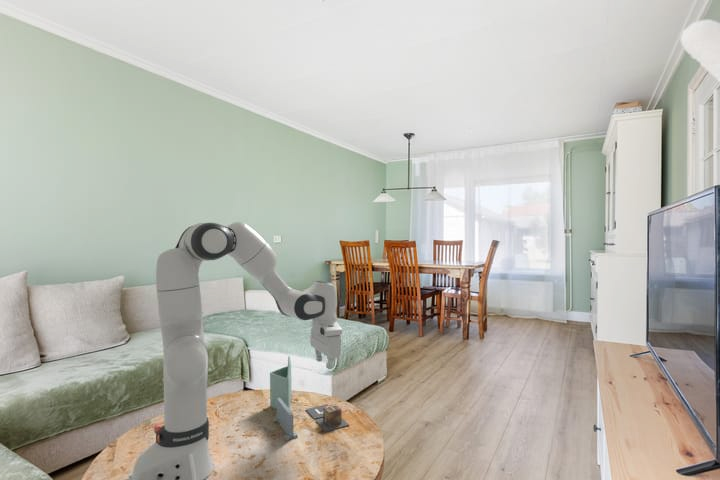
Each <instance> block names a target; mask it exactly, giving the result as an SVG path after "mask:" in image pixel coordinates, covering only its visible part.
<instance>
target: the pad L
mask: <svg viewBox="0 0 720 480" xmlns="http://www.w3.org/2000/svg"><path fill="white" fill-rule="evenodd" d="M325 406H330V405H329V404H322V405H317V406H314V407H309V408H306V409H305V411H306V412H307V413H308V415H310V417H311V418H312V419H314V420H315V421H316V420H319V419H323V407H325Z"/></svg>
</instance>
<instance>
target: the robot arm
mask: <svg viewBox="0 0 720 480" xmlns="http://www.w3.org/2000/svg"><path fill="white" fill-rule="evenodd" d="M226 255H228V256H230V257H231V258H233V260H234V261H236V263H237V264H238V265H239V266H240V267H241V268H242V269H243V270H244V271H246V272H247V273H248V274H249V275H250V276H252V277H254V278H255V279H256V280H257V281H258V282H259V283H260V284H261V285H262V286H263V287H264V288H265V290H266V291H268V293H269V294H270V295H271V297H273V299H274V301H275V304H276V307H277V309H278V311H279V312H280V313H281V314H282V315H283V316H285V317H290V318H294V319H298V320H300V321H309V320H312V321H311V322H312V323H311V330H310V337H309V338H310V339H309V343H310V346H311V348H313V349H314V352H315V353H314V354H315V356H316V357H315V360H316V361H317V362H318V363H319V362H321V363H322V362H323V355H324V356H325V357H326V358H327V362H326V365H325V367H326V369H327V370H332V369H333V366H334V365H333V364H334V362H335V359H339V358H340V357H341V354H342V335H343V329H342V327H341V326H340V324H339V321H338V320H337V319H338V316H337V308H338V293H337V288H336V285H335V284H334V283H332V282H328V281H322V280H316V281H315V282H314V283H313V284H312V285H311V286H309V287H308V288H306V289H304V290H298V289H296V288H292V287H290V286H288V284H287V283H286V282H285V281H284V280H283V279H282V278H281V277H280V275H279V274H278V273H277V271H276V270H275V268H276V266H277V264H278V263H277V262H278V256H277V254H276V252H275V251H274V249H273V248H272V246H271V245H270V243H268V242H267V241H266V239H265V238H263V236H261V235H260V234H259V233H258V232H257V231H256V230H255V229H254V228H252V227H251V226H250V225H248V224H247V223H245V222H244V221H236V222H232V223H231V224H229V225H227V226H224V225H223V224H220V223H216V222H200V223H196V224H193V225H191V226H189V227H187V228H186V229H185V230H184V231H183V232H182V233H181V235H180V237H179V240H178V242H177V244H176V246H175V248H170V249H167V250H165V251H163V252H161V253H160V254H159V255H158V257H157V260H156V269H155V270H156V271H155V285H156V287H155V288H156V297H157V307H158V315H159V323H160V330H161V331H160V332H161V340H162V347H163V362H162V363H163V365H162V367H163V419H164V420H163V424H164V425H162V424H160V423H157V424H156V425H155V426H154V429H153V430H154V434H155V441H154V442H153V443H152V444H151V445H150V446H148V447H147V449H146V450H144V451H143V452H142V453H140V455H139V456H138V457H137V459H136V461H135V463H134V466H133V470H132V472H130V473H129V474H128V475H127V476H126V478H125V479H124V480H205V479H207V477H209V476H210V475H211V473H212V472H213V470H214V466H215V465H214V463H213V459H212V457H211V456H212V455H211V452H210V445H209V438H210V437H209V436H210V422H209V417H208V404H207V403H208V400H207V399H208V398H207V395H208V394H207V393H208V373H209V372H208V371H209V355H208V354H209V353H208V350H207V348H206V344H205V337H204V335H205V334H204V324H203V323H204V322H203V307H202V297H201V296H202V295H201V286H200V280H199V279H200V278H199V270H200V267H201V264H202V262H205V261H216V260H218V259H219V260H220V259H221V258H223V257H225V256H226ZM322 354H323V355H322Z"/></svg>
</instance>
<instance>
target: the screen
mask: <svg viewBox="0 0 720 480" xmlns="http://www.w3.org/2000/svg"><path fill="white" fill-rule="evenodd" d="M276 401H277V410H276V417H273V418H272V422H273V423H274V424H275V422H276V423H278V424H279V423H280V424H279V426H281V428H282V430H283V431H284V433H285V434H284V435H283V437H284V438H283V439H285V441H290V440H293V439H297V438H299V437H298V436H299V435H298V433H297V432H295V431H294V427H295V426H294V424H295V423H294V413H293V412H292V411H291V408H290V409H289V408H288V407H287V406H286V405H285V403H284V402H283V401H282V400H281V398H280V397H278V398H276Z"/></svg>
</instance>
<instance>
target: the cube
mask: <svg viewBox="0 0 720 480" xmlns="http://www.w3.org/2000/svg"><path fill="white" fill-rule="evenodd" d="M342 415H343V414H342V408H341V407H340V406H339V405H337V404H336V403H335V404H330V405H329V406H325V407H323V418H322V419H323V421H324V422H325V423H326V424H327V425H328V427H330V426H334V425H337V424H341V423H342Z"/></svg>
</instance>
